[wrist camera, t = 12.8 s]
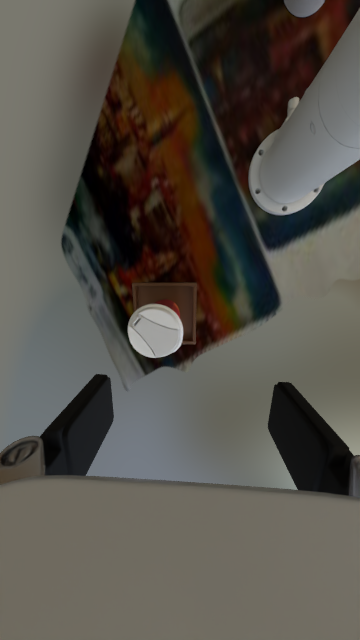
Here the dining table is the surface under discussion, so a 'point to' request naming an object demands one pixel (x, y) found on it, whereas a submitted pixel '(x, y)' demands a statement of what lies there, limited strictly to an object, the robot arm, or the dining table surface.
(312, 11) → the coffee cup
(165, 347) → the paper cup
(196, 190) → the dining table surface
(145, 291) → the tray
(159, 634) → the robot arm
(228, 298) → the dining table surface
